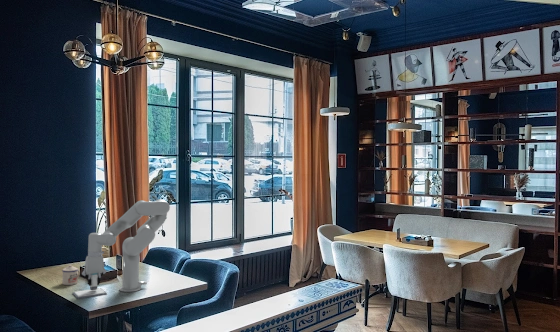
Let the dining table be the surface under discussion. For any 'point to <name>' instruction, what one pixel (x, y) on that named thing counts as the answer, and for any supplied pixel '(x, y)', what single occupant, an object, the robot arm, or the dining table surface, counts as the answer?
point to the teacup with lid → (70, 275)
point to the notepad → (89, 293)
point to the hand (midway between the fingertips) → (93, 284)
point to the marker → (94, 281)
